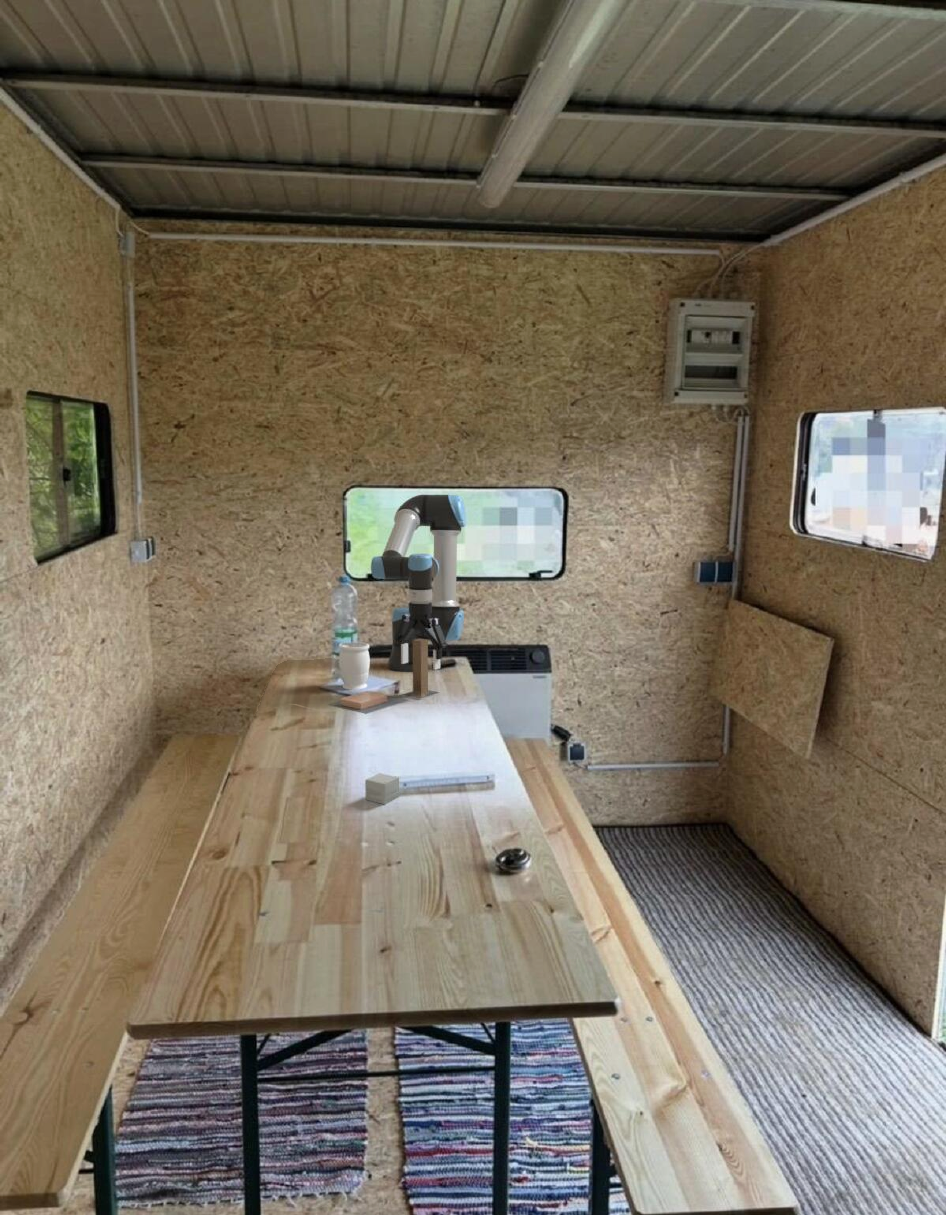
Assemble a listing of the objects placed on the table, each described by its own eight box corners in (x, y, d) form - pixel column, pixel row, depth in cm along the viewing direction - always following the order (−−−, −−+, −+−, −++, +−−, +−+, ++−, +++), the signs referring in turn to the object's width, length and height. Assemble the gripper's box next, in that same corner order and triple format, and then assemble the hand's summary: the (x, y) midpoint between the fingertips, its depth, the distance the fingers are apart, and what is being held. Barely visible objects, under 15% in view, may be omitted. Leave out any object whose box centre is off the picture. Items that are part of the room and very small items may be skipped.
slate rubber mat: (370, 693, 289) (370, 691, 289) (409, 701, 279) (409, 699, 279) (326, 706, 273) (326, 704, 273) (366, 715, 263) (366, 713, 263)
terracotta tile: (366, 690, 281) (339, 698, 272) (387, 695, 276) (360, 703, 266) (366, 697, 282) (340, 705, 272) (387, 701, 276) (361, 710, 267)
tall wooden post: (420, 691, 291) (420, 636, 288) (439, 695, 287) (439, 638, 284) (401, 697, 284) (400, 640, 281) (420, 701, 279) (419, 643, 276)
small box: (400, 797, 198) (399, 776, 197) (384, 805, 193) (384, 784, 192) (379, 792, 201) (379, 772, 200) (364, 800, 196) (364, 779, 195)
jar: (335, 685, 298) (334, 643, 296) (364, 682, 303) (363, 640, 300) (344, 693, 289) (343, 649, 287) (374, 689, 293) (373, 646, 291)
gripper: (383, 599, 284) (384, 662, 288) (443, 607, 270) (443, 673, 273) (398, 597, 290) (399, 658, 294) (457, 604, 276) (457, 669, 279)
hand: (420, 666), depth 284 cm, fingers open, 13 cm apart
